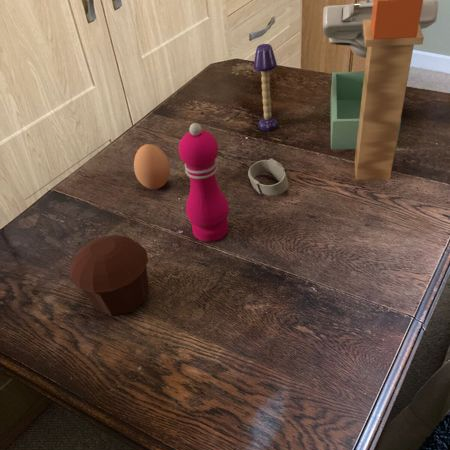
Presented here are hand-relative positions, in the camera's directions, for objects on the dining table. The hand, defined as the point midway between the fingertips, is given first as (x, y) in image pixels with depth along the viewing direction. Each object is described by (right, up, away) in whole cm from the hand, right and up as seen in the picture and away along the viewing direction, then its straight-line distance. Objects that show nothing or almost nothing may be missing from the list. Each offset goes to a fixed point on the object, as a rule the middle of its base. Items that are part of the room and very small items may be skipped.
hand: (383, 6), depth 84 cm
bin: (+2, -13, +21) cm, 25 cm away
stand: (0, -27, +8) cm, 29 cm away
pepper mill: (-30, -38, +2) cm, 48 cm away
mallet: (-2, -7, -9) cm, 11 cm away
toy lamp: (-18, -12, +25) cm, 33 cm away
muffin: (-44, -50, -7) cm, 66 cm away
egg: (-41, -28, +13) cm, 51 cm away
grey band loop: (-19, -29, +9) cm, 36 cm away
